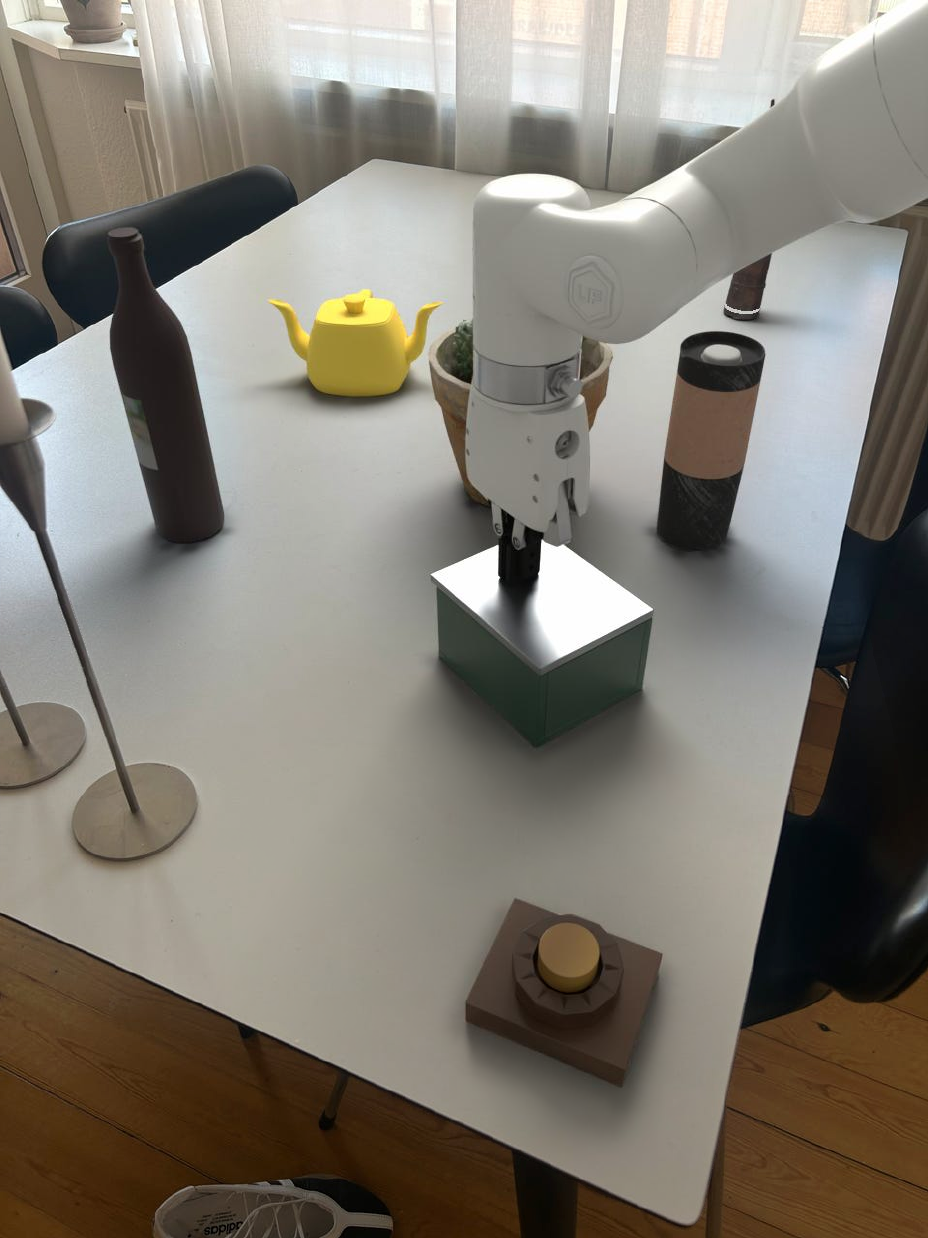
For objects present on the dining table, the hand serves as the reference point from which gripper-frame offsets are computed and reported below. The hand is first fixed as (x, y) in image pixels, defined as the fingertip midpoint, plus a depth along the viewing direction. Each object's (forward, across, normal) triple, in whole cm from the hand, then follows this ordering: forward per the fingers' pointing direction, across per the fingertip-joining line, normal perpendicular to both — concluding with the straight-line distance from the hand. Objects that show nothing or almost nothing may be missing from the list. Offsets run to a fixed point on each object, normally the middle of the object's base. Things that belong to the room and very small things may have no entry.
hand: (518, 575), depth 80 cm
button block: (+9, -27, +18) cm, 33 cm away
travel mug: (+9, +4, -26) cm, 28 cm away
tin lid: (+1, -3, 0) cm, 3 cm away
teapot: (+9, +56, -18) cm, 59 cm away
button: (+5, -27, +18) cm, 33 cm away
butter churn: (+9, +38, -73) cm, 83 cm away
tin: (+9, -3, 0) cm, 9 cm away
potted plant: (+9, +22, -17) cm, 29 cm away
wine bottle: (+9, +36, +15) cm, 40 cm away
